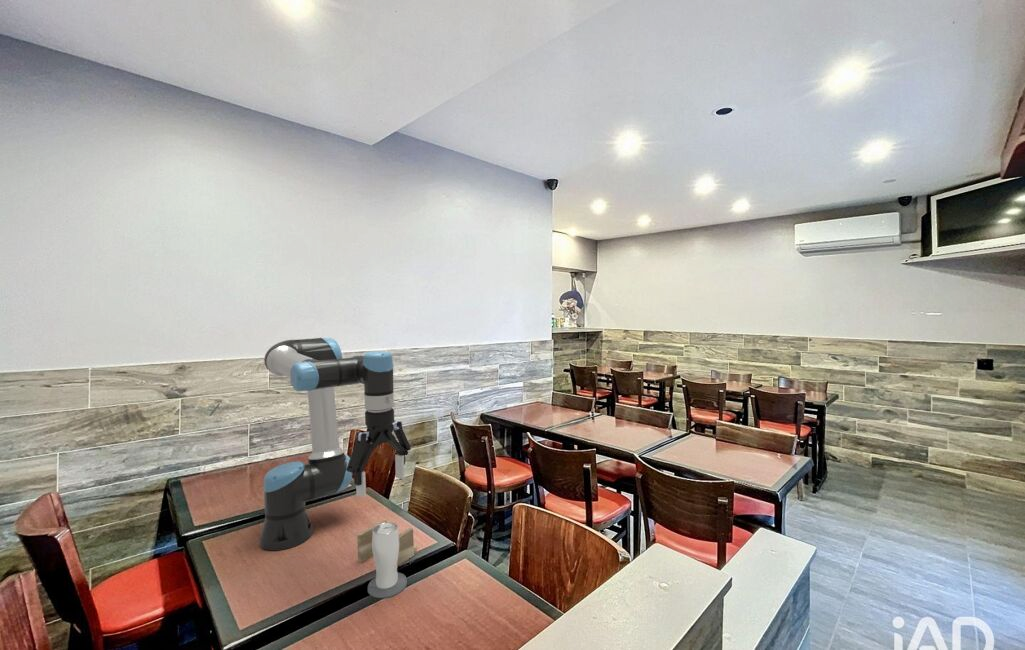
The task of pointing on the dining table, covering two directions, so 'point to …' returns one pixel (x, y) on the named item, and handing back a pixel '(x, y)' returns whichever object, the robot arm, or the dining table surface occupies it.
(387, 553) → the beer glass
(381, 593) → the coaster
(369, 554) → the rack
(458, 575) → the dining table surface
